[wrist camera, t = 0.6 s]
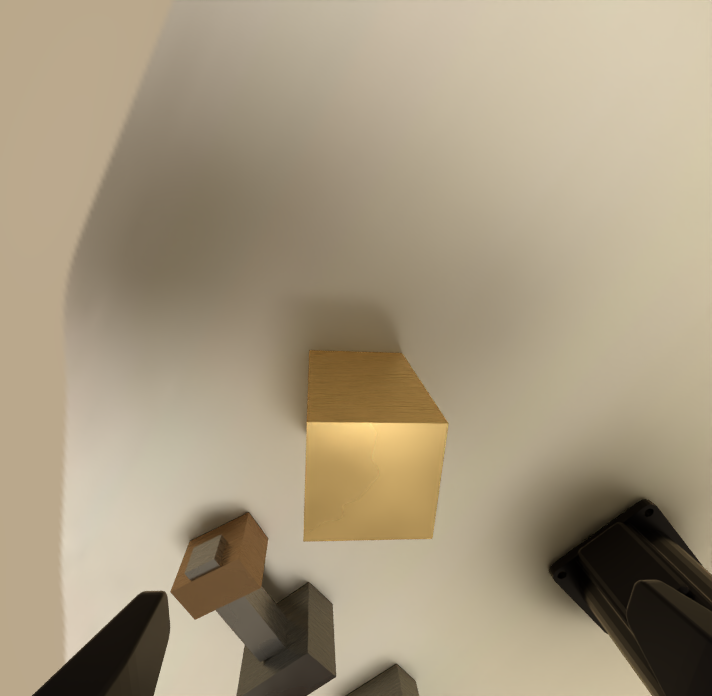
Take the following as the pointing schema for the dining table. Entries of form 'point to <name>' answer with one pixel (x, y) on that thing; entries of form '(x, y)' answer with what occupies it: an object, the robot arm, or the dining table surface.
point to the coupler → (370, 449)
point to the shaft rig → (268, 617)
